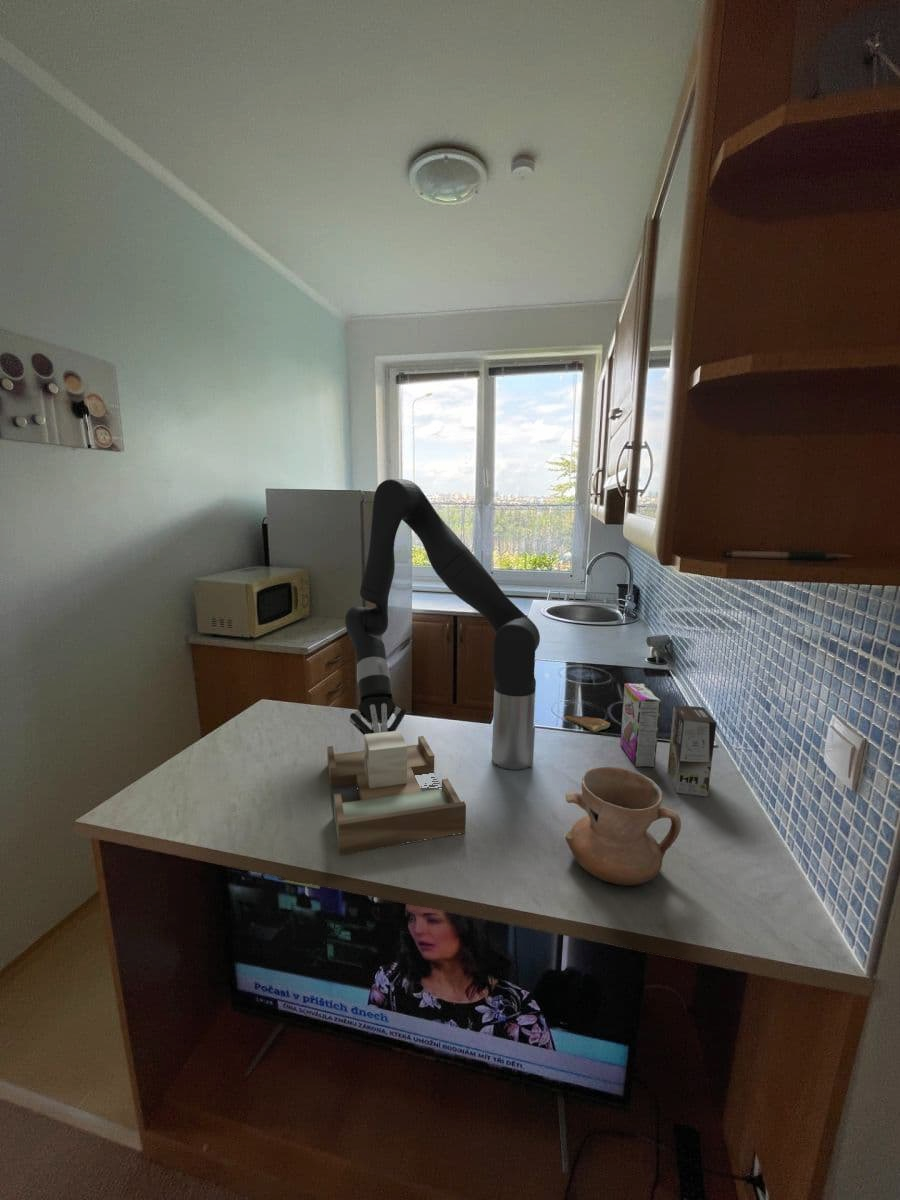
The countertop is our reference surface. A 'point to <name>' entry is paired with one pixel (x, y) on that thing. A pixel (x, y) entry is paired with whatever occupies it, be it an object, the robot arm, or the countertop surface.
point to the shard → (589, 722)
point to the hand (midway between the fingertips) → (382, 754)
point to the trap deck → (391, 803)
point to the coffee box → (691, 750)
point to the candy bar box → (640, 724)
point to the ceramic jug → (620, 826)
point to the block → (385, 759)
